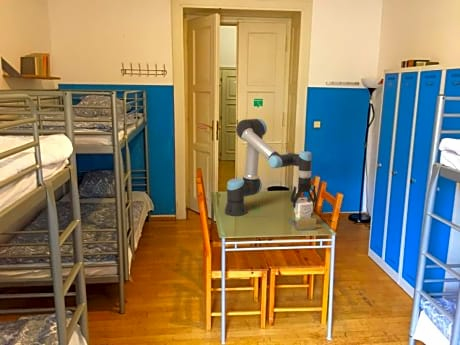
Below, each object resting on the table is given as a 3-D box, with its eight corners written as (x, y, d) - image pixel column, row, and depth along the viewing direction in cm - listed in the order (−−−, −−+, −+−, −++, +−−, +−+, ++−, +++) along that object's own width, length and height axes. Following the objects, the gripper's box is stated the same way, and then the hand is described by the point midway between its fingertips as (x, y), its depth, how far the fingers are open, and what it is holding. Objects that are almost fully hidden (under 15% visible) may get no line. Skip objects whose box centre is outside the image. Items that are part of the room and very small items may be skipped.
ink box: (299, 223, 248) (300, 199, 245) (295, 220, 252) (295, 198, 249) (311, 221, 251) (312, 198, 248) (306, 219, 255) (307, 196, 252)
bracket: (297, 230, 244) (297, 219, 243) (288, 221, 262) (288, 211, 261) (316, 229, 246) (316, 218, 245) (306, 220, 264) (306, 210, 262)
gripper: (289, 178, 241) (287, 214, 245) (324, 177, 244) (322, 213, 249) (285, 176, 248) (284, 211, 253) (319, 175, 252) (318, 209, 256)
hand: (303, 212), depth 251 cm, fingers closed on ink box, 9 cm apart
